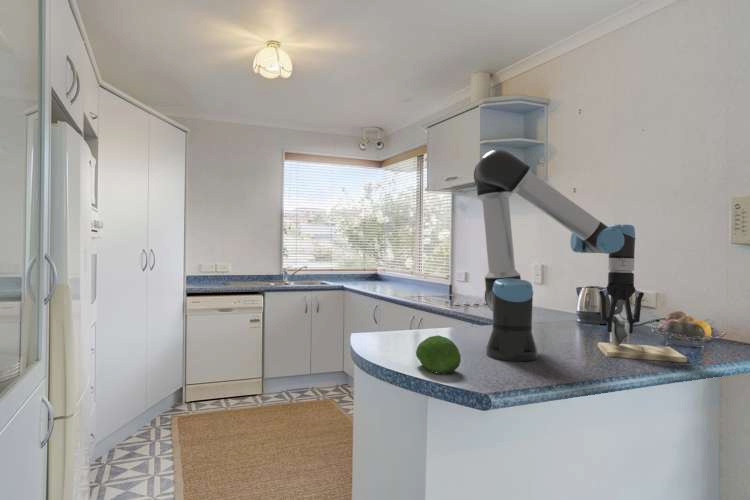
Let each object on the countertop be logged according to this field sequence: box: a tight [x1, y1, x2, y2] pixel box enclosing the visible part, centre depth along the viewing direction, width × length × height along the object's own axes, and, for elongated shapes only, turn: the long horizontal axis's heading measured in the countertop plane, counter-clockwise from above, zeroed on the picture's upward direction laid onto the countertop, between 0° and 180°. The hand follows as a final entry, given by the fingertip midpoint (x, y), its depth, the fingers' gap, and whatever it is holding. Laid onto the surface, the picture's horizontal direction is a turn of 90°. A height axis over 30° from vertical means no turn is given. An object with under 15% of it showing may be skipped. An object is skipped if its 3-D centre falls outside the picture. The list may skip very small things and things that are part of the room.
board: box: [597, 341, 688, 363], centre depth 153 cm, size 22×16×2 cm
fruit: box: [415, 335, 462, 374], centre depth 126 cm, size 15×10×10 cm, turn 22°
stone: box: [612, 315, 628, 346], centre depth 155 cm, size 11×4×10 cm, turn 163°
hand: (619, 342), depth 154 cm, fingers closed on stone, 4 cm apart
